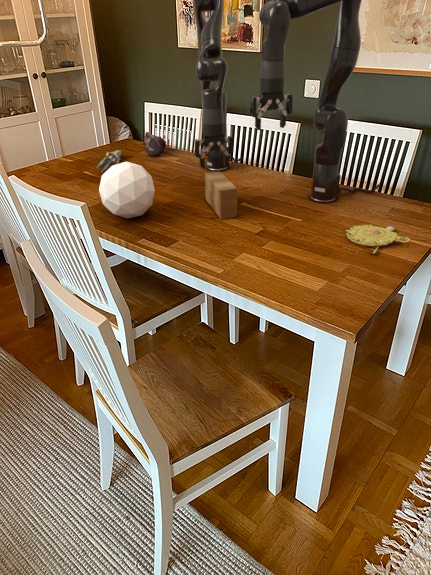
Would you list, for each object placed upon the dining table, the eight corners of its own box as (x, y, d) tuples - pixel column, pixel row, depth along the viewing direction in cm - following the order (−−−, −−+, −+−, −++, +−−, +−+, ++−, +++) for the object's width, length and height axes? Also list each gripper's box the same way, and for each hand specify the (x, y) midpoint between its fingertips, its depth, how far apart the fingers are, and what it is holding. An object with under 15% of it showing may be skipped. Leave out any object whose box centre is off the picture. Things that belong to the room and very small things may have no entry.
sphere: (119, 231, 167) (91, 184, 164) (165, 204, 169) (137, 158, 167) (116, 226, 148) (83, 173, 146) (167, 196, 150) (136, 144, 148)
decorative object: (355, 216, 152) (417, 225, 142) (354, 223, 153) (416, 232, 143) (334, 239, 137) (402, 251, 127) (334, 247, 138) (401, 259, 128)
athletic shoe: (152, 146, 217) (175, 145, 222) (140, 122, 229) (162, 121, 233) (150, 166, 226) (172, 164, 230) (139, 141, 238) (160, 140, 242)
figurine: (101, 154, 197) (119, 141, 223) (91, 167, 200) (110, 152, 227) (114, 165, 199) (130, 151, 225) (103, 178, 203) (121, 162, 229)
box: (205, 199, 174) (204, 173, 168) (220, 197, 175) (219, 171, 169) (220, 219, 157) (220, 190, 152) (237, 216, 159) (237, 188, 153)
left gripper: (196, 125, 151) (198, 171, 160) (235, 121, 155) (235, 167, 163) (191, 120, 157) (193, 166, 166) (228, 117, 161) (229, 162, 169)
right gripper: (255, 78, 136) (254, 133, 145) (298, 75, 139) (294, 129, 148) (247, 76, 142) (246, 128, 151) (288, 73, 146) (285, 124, 154)
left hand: (214, 166), depth 165 cm, fingers open, 8 cm apart
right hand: (270, 128), depth 150 cm, fingers open, 8 cm apart
